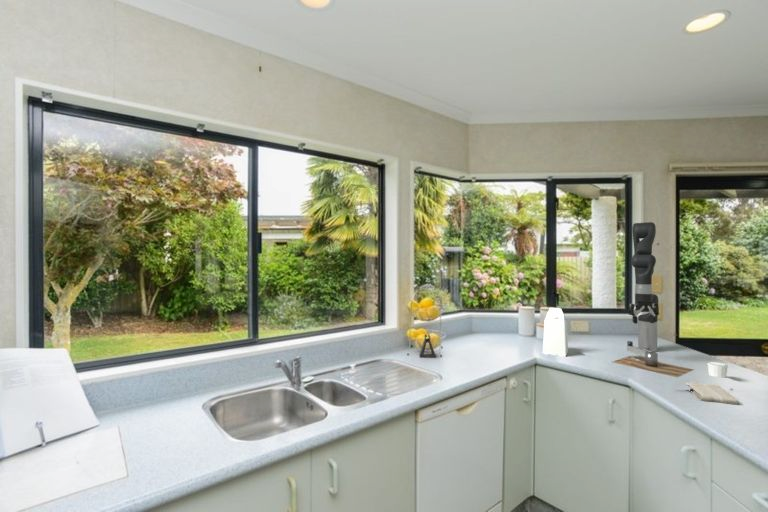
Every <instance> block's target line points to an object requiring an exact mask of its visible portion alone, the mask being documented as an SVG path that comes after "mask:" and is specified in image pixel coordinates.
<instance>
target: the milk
mask: <svg viewBox="0 0 768 512" xmlns="http://www.w3.org/2000/svg"><path fill="white" fill-rule="evenodd" d="M542 337H543V338H542V339H543V340H542V341H543V343H542V354H543V353H544V354H543V355H548V354H551V355H550V356H555V355H559V356H558V357H563V356H566V355H568V354H569V344H568V343H569V342H568V341H569V340H568V323H567V318H566V316H565V313H564V312H563V309H562V307H561V308H560V307H549V309H548V311H547V312H546V315H545V318H544V323H543V336H542ZM567 353H568V354H567ZM566 357H567V356H566Z"/></svg>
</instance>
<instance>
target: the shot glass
mask: <svg viewBox="0 0 768 512" xmlns="http://www.w3.org/2000/svg"><path fill="white" fill-rule="evenodd" d="M706 363H707V371H708V376H711V377H714V378H721V379H722V378H723V379H725V378H727V372H728V364H726V363H723V362H717V361H708V362H706Z"/></svg>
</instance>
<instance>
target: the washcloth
mask: <svg viewBox="0 0 768 512" xmlns="http://www.w3.org/2000/svg"><path fill="white" fill-rule="evenodd" d="M685 384H686V386H688V387H690V388H689V389H690V391H689V392H691V391H692V392H693V393H694V394H695V395H696V396H697V397H696V396H695V395H694V394H693V393H692V392H691V393H692V394H693V395H694V396H695V397H696V398H697V399H698V400H700V401H703V402H711V403H719V404H727V405H739V404H740V403H739V401H738V399H737V398H735V396H733V395H731V394H730V392H727V391H726V390H725V389H724V388H722V387H721V386H720V385H718V384H713V383H712V384H709V383H708V384H707V383H706V384H705V383H699V382H694V381H692V382H691V381H686V383H685Z"/></svg>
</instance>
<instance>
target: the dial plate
mask: <svg viewBox="0 0 768 512" xmlns="http://www.w3.org/2000/svg"><path fill="white" fill-rule="evenodd" d="M612 363H613V364H618V365H622V366H628V367H632V368H636V369H640V370H643V371H644V370H645V371H647V372H652V373H657V374H661V375H665V376H670V377H674V378H679V377H681V376H683V375H686V374H687V373H690V372H692V371H694V370H695V369H694V368H688V367H684V366H681V365H680V366H679V365H674V364H670V363H666V362H665V363H664V362H661V361H658V366H656V367H654V366H648V365H645V358H641V357H637V356H633V355H632V356H631V355H628V356H625V357H621V358H620V359H617V360H614V361H612Z"/></svg>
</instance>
